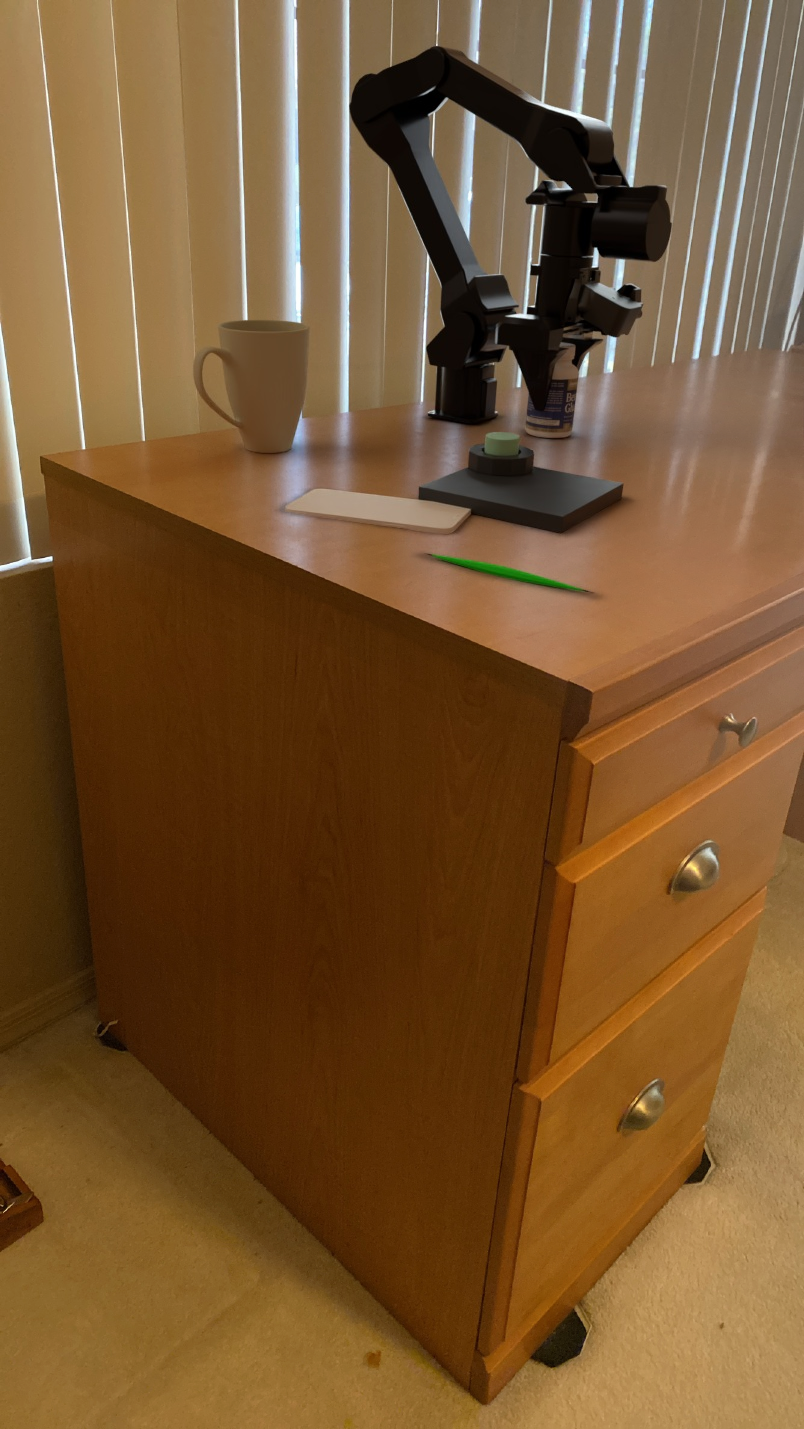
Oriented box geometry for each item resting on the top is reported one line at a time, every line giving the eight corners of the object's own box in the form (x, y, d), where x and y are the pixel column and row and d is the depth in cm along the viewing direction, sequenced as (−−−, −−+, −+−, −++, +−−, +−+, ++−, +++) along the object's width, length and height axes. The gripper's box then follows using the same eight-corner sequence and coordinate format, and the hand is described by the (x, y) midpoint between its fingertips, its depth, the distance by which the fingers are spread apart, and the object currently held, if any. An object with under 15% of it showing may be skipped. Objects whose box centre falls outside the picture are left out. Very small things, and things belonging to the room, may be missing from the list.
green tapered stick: (425, 556, 75) (426, 546, 75) (597, 597, 69) (599, 586, 68) (419, 559, 74) (420, 549, 74) (592, 600, 68) (594, 589, 68)
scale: (412, 500, 87) (414, 467, 86) (486, 470, 97) (488, 439, 96) (561, 533, 80) (565, 497, 79) (624, 496, 90) (628, 464, 89)
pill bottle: (570, 440, 110) (580, 348, 105) (522, 436, 111) (530, 345, 106) (573, 430, 114) (582, 342, 110) (527, 426, 115) (535, 339, 111)
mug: (234, 434, 107) (228, 317, 102) (321, 441, 106) (320, 322, 100) (195, 457, 98) (186, 330, 92) (290, 466, 96) (287, 336, 91)
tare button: (478, 454, 92) (479, 435, 91) (494, 448, 94) (495, 430, 93) (508, 460, 90) (509, 441, 90) (524, 453, 93) (525, 435, 92)
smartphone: (316, 487, 89) (474, 505, 85) (316, 495, 90) (473, 514, 85) (281, 508, 83) (450, 529, 79) (281, 517, 84) (449, 538, 79)
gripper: (601, 264, 93) (582, 431, 100) (670, 257, 107) (648, 404, 114) (498, 256, 98) (487, 415, 106) (576, 250, 112) (561, 391, 119)
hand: (550, 406), depth 111 cm, fingers closed on pill bottle, 5 cm apart
